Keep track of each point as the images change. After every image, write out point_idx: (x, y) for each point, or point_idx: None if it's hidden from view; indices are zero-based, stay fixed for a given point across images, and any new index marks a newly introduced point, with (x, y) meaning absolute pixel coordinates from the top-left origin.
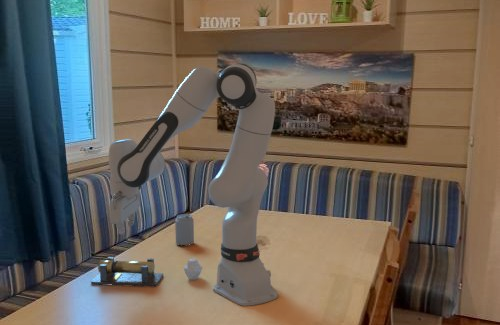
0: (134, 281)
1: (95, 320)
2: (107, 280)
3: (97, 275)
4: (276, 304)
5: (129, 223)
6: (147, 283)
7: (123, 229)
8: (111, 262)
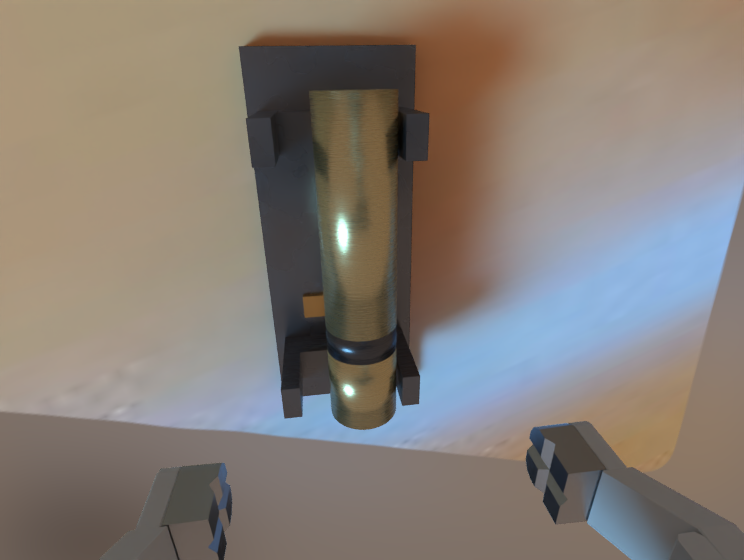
0: None
1: (735, 217)
2: None
3: None
4: None
5: (219, 517)
6: (410, 106)
7: (620, 460)
8: (382, 365)
